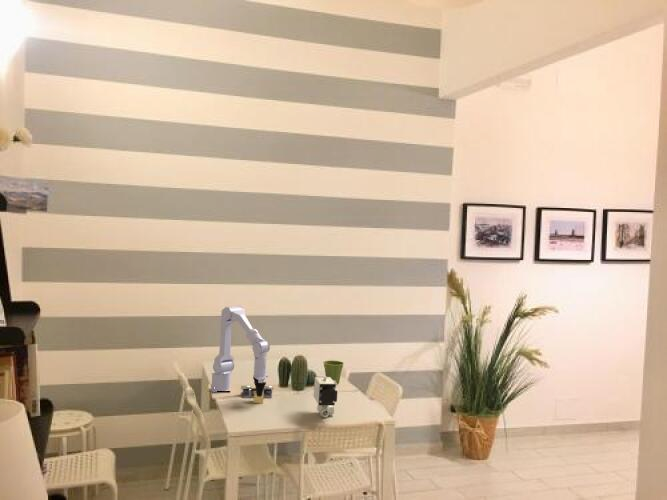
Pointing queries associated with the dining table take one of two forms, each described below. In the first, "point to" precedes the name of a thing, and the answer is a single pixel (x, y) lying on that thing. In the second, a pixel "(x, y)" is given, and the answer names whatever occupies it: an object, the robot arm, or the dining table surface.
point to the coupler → (258, 398)
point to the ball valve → (325, 395)
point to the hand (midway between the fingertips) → (258, 394)
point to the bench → (249, 391)
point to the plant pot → (333, 369)
